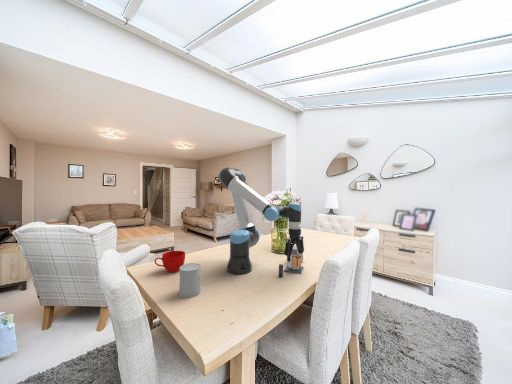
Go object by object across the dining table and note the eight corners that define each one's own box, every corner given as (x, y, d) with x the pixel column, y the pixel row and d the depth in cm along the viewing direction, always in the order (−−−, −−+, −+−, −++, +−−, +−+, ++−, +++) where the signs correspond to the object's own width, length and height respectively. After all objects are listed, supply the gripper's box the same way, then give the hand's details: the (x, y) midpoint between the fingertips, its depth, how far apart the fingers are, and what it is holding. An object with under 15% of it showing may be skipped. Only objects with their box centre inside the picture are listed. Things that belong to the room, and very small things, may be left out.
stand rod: (278, 276, 119) (278, 265, 119) (279, 275, 121) (279, 264, 121) (282, 277, 118) (282, 266, 118) (283, 275, 120) (283, 264, 120)
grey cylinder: (192, 286, 106) (193, 261, 106) (204, 292, 100) (204, 266, 100) (175, 293, 99) (175, 267, 99) (186, 300, 93) (187, 272, 93)
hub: (284, 271, 127) (284, 259, 127) (287, 265, 136) (288, 255, 136) (301, 273, 123) (301, 262, 123) (303, 268, 133) (303, 257, 133)
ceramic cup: (154, 269, 127) (154, 253, 127) (183, 265, 135) (183, 249, 135) (154, 277, 116) (154, 259, 116) (186, 272, 124) (186, 255, 124)
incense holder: (292, 259, 150) (292, 244, 150) (303, 261, 146) (303, 246, 146) (286, 263, 142) (286, 247, 142) (298, 265, 137) (298, 249, 137)
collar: (294, 268, 124) (294, 259, 124) (285, 264, 131) (285, 256, 131) (303, 265, 129) (303, 257, 129) (294, 261, 135) (294, 254, 135)
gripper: (287, 231, 120) (287, 270, 120) (310, 227, 133) (310, 263, 133) (278, 229, 126) (277, 267, 126) (301, 225, 139) (300, 260, 139)
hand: (294, 265), depth 130 cm, fingers closed on collar, 8 cm apart
